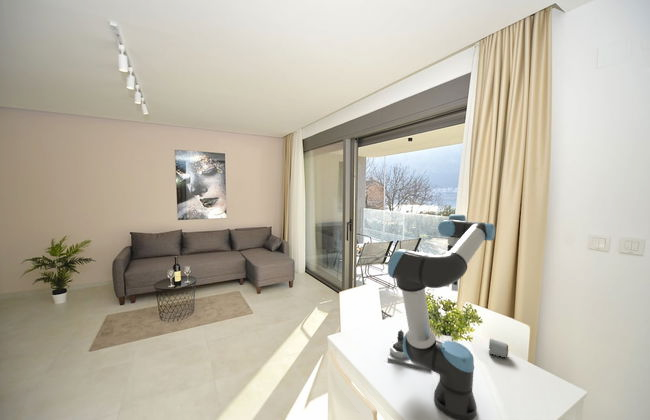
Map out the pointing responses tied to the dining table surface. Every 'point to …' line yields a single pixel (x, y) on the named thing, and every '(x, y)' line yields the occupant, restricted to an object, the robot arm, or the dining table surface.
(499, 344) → the grey rounded block
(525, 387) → the dining table surface
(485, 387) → the dining table surface
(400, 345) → the dark figurine
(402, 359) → the housing
